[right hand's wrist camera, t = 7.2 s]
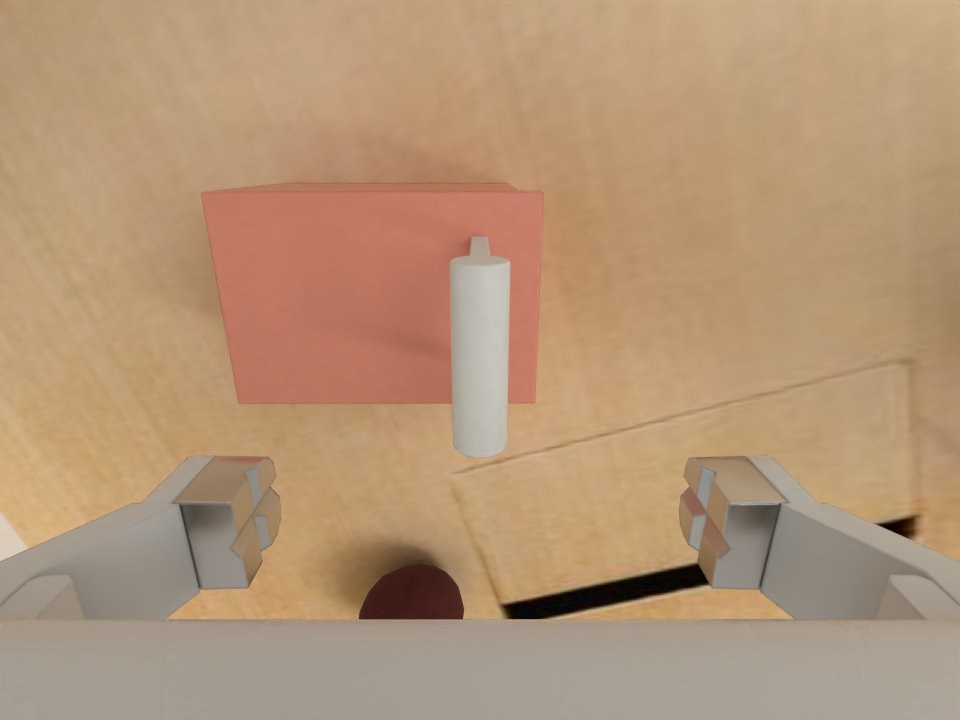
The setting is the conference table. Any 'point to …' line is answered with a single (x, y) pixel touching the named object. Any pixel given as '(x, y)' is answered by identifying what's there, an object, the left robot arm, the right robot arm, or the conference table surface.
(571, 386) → the conference table surface
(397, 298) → the pink board with handle
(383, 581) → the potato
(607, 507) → the conference table surface
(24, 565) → the right robot arm
